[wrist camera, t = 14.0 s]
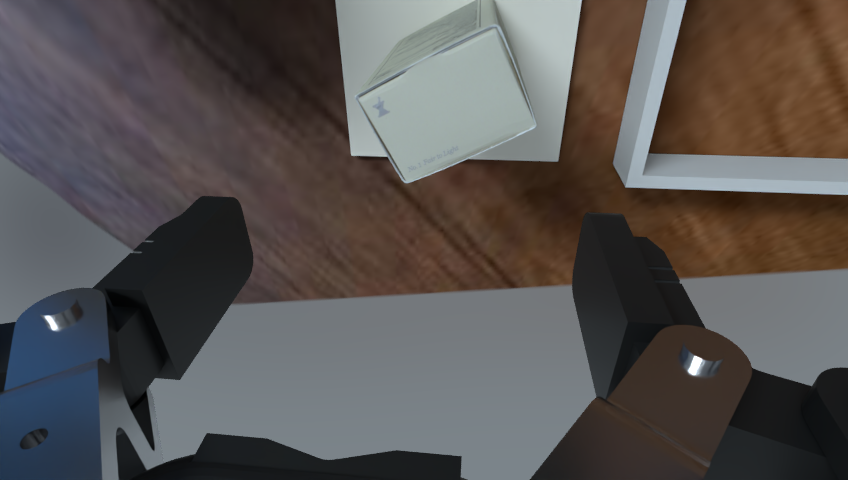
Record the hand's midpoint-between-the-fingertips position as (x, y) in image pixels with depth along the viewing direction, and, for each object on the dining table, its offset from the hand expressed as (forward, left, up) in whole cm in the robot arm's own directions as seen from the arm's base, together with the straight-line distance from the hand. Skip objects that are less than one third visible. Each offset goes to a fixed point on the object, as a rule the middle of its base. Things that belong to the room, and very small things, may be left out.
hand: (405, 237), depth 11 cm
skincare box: (0, 0, -21) cm, 21 cm away
